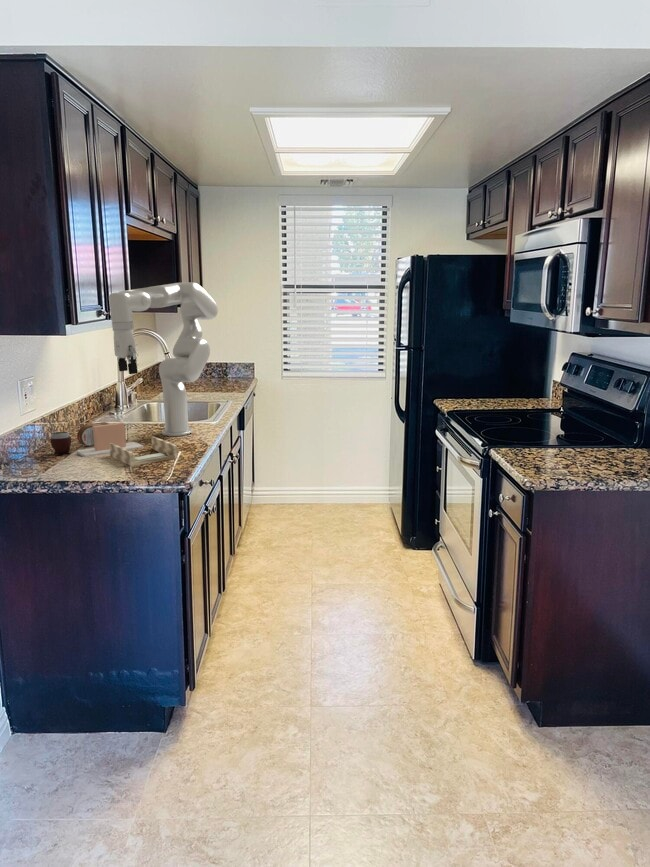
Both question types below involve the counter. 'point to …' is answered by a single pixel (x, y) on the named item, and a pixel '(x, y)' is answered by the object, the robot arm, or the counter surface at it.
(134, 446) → the mat
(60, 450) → the mate gourd
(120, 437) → the sheet
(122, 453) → the rack
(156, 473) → the counter surface
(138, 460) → the offcut upper
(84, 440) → the tin
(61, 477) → the counter surface
